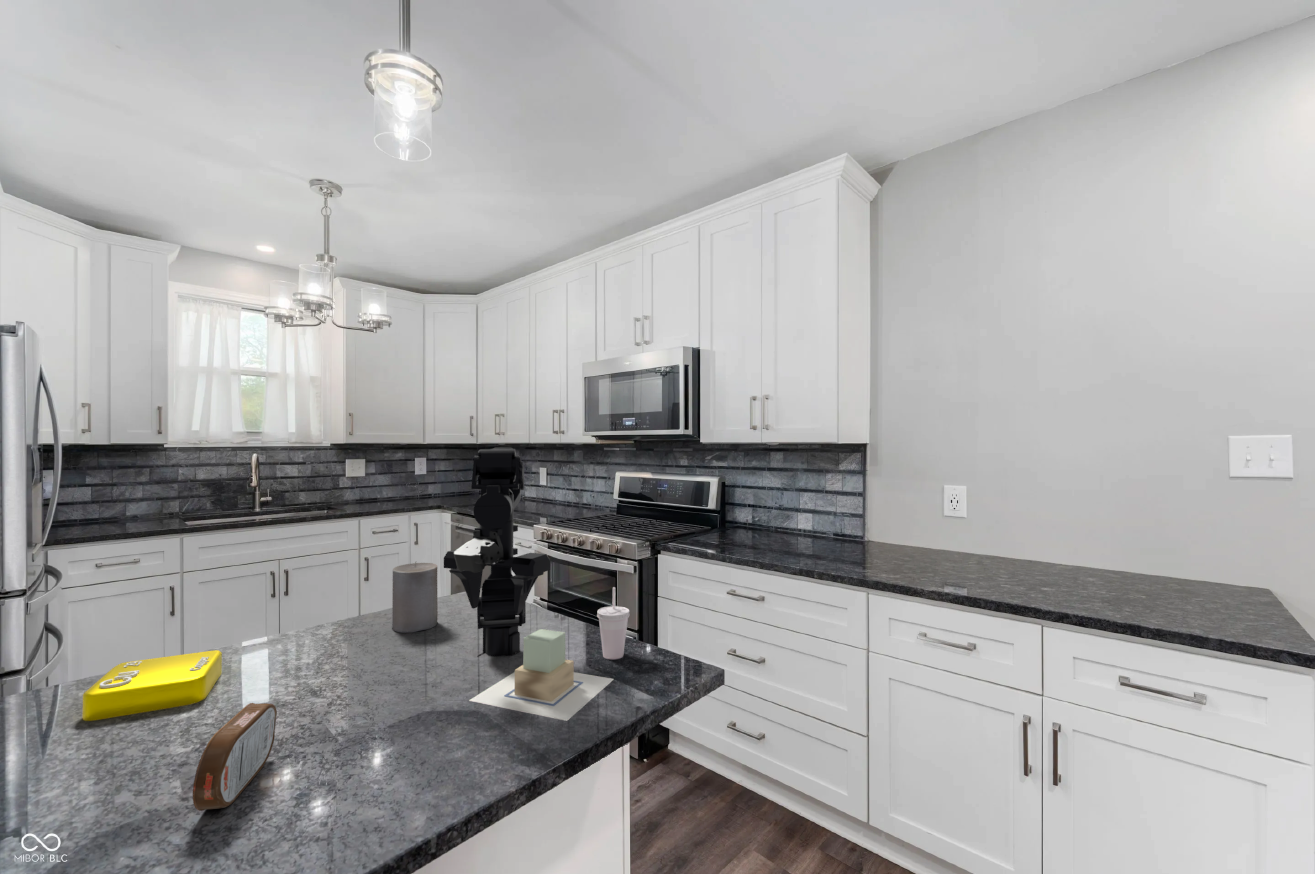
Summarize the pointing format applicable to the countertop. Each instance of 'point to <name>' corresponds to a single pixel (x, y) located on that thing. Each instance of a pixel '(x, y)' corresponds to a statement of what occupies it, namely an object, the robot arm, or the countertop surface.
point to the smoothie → (613, 629)
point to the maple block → (544, 682)
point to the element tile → (152, 685)
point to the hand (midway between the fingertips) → (495, 610)
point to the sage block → (544, 650)
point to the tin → (234, 756)
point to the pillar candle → (414, 597)
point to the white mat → (558, 708)
